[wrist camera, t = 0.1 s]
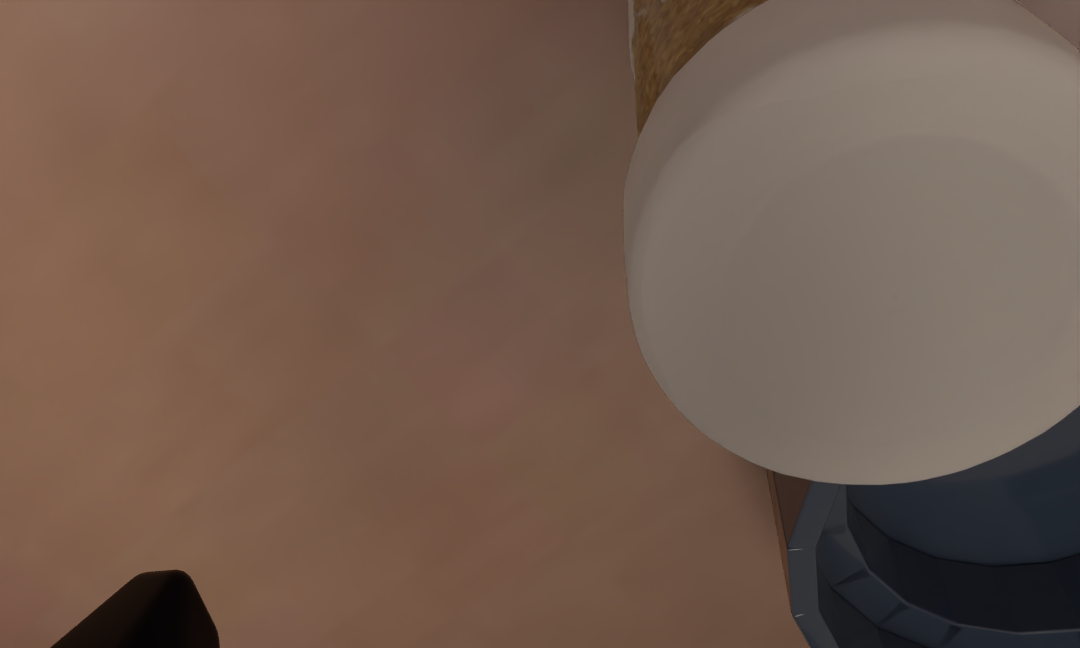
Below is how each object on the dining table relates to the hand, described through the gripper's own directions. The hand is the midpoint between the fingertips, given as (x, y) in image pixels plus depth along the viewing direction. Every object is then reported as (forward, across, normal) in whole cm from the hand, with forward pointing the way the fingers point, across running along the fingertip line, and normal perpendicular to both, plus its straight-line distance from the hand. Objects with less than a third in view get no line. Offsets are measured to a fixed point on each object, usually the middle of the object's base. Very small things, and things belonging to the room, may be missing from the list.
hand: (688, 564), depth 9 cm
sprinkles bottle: (+15, -2, -2) cm, 15 cm away
